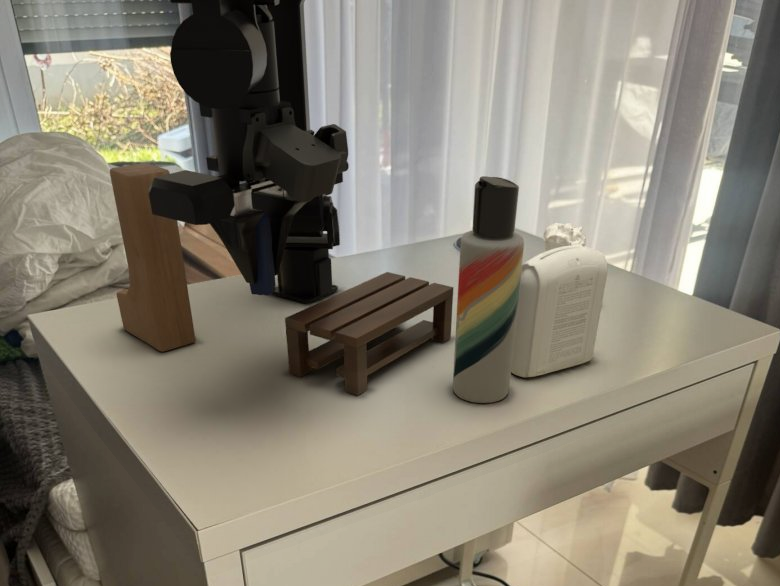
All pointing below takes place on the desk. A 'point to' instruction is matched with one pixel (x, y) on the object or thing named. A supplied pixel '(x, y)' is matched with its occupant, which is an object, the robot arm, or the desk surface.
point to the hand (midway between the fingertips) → (262, 278)
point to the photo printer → (558, 310)
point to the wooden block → (151, 264)
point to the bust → (563, 236)
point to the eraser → (264, 259)
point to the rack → (367, 326)
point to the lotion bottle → (488, 294)
